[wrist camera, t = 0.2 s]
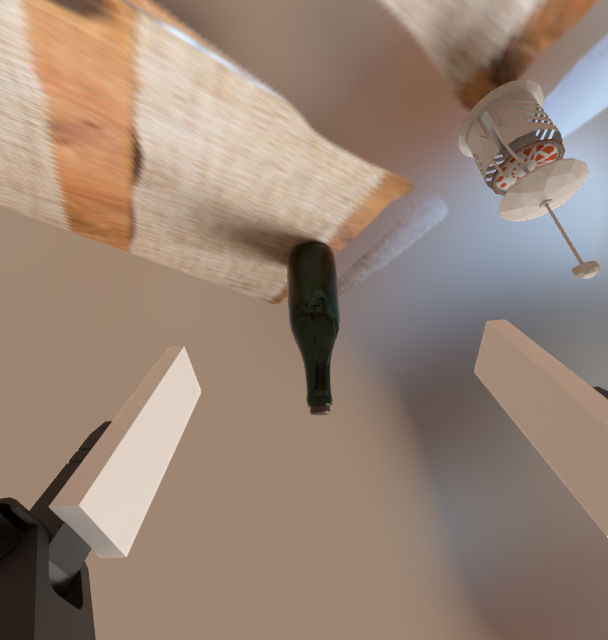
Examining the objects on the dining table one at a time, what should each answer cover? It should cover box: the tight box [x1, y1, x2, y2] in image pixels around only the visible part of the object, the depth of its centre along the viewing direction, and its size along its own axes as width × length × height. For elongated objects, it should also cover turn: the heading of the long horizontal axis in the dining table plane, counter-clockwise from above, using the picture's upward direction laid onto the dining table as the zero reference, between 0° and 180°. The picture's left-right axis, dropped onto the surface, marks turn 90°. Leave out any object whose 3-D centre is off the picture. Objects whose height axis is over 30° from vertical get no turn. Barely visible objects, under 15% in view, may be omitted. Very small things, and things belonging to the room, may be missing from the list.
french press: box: [458, 79, 600, 279], centre depth 32 cm, size 10×12×25 cm
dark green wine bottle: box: [287, 243, 340, 415], centre depth 54 cm, size 10×10×33 cm
